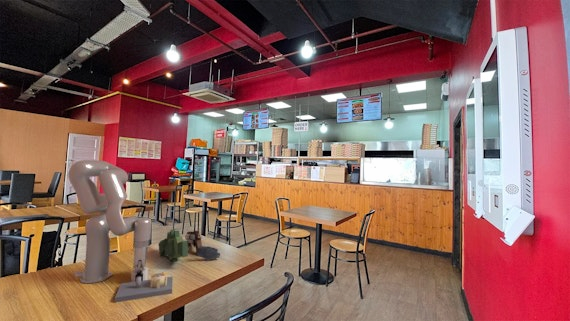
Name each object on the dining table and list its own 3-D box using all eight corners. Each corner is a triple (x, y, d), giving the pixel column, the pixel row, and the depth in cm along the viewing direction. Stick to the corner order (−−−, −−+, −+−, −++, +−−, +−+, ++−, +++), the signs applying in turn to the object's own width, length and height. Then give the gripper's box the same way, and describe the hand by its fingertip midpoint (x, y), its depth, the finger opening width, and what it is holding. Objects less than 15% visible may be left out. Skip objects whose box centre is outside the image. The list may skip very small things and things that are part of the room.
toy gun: (191, 251, 179) (191, 230, 182) (204, 253, 157) (203, 229, 161) (185, 252, 176) (184, 231, 180) (197, 254, 155) (196, 230, 158)
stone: (217, 257, 156) (217, 241, 156) (221, 260, 151) (221, 244, 152) (195, 261, 147) (196, 245, 147) (198, 265, 143) (199, 248, 143)
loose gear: (130, 284, 117) (130, 273, 118) (132, 277, 124) (133, 267, 124) (147, 281, 120) (148, 271, 121) (148, 275, 127) (149, 266, 127)
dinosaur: (197, 257, 137) (194, 223, 142) (176, 261, 129) (174, 226, 134) (176, 259, 161) (175, 231, 166) (158, 264, 153) (156, 233, 159)
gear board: (114, 302, 102) (115, 284, 102) (120, 287, 114) (121, 271, 114) (172, 293, 111) (172, 276, 111) (172, 280, 123) (173, 265, 123)
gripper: (136, 238, 129) (134, 272, 128) (130, 249, 113) (128, 288, 113) (151, 237, 132) (150, 270, 132) (148, 248, 116) (146, 285, 116)
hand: (139, 278), depth 122 cm, fingers closed on loose gear, 7 cm apart
